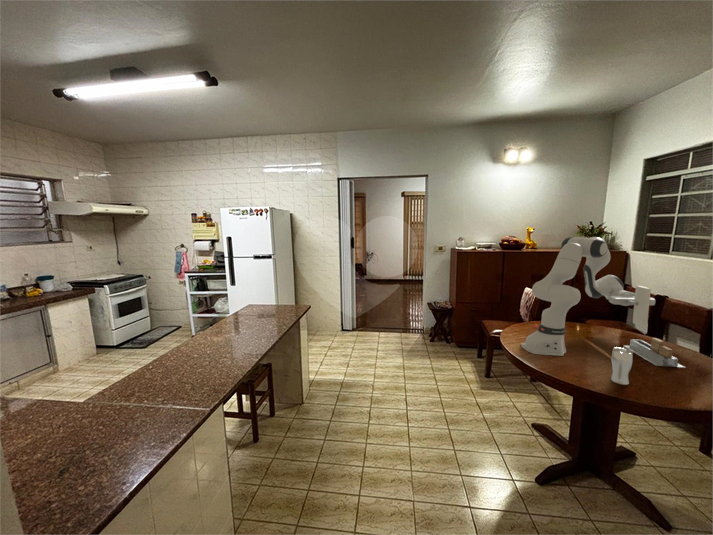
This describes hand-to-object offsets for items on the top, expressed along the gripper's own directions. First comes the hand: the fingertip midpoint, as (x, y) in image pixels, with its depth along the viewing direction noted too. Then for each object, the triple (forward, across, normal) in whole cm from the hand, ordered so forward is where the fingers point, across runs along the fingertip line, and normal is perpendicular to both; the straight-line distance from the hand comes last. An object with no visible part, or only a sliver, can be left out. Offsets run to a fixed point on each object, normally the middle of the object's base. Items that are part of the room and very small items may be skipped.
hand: (640, 304), depth 160 cm
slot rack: (+12, 0, +26) cm, 29 cm away
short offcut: (+20, 0, +25) cm, 32 cm away
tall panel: (+1, 0, +12) cm, 12 cm away
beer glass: (+42, -31, +26) cm, 58 cm away
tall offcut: (+15, 0, +25) cm, 29 cm away
